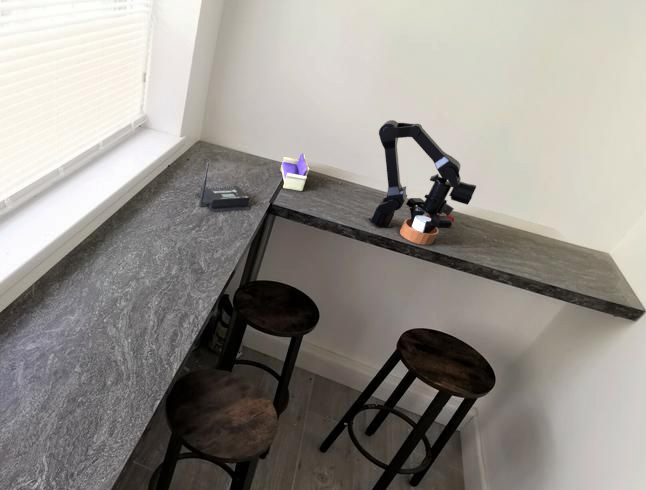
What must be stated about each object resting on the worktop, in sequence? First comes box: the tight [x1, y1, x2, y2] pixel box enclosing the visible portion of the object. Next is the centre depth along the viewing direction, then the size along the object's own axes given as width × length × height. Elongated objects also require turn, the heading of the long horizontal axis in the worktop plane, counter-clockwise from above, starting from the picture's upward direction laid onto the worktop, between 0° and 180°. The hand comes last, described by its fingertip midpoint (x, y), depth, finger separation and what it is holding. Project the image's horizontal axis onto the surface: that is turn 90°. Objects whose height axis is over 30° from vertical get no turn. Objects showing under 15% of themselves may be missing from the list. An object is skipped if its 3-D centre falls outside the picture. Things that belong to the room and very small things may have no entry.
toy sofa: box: [279, 153, 310, 192], centre depth 213 cm, size 21×9×10 cm, turn 172°
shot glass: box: [411, 214, 431, 232], centre depth 186 cm, size 7×7×7 cm
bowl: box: [399, 217, 440, 246], centre depth 187 cm, size 12×12×4 cm
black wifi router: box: [198, 162, 251, 212], centre depth 185 cm, size 20×14×17 cm
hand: (418, 232), depth 187 cm, fingers closed on shot glass, 6 cm apart
